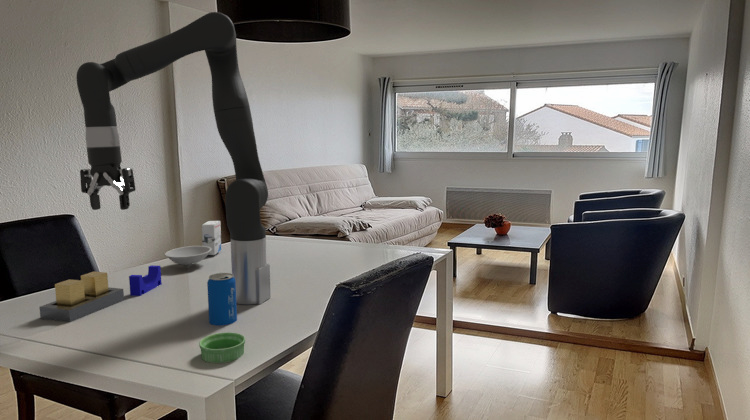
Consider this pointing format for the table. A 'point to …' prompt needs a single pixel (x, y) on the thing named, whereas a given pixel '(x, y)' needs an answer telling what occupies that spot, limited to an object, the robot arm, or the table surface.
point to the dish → (188, 254)
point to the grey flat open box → (81, 306)
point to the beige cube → (95, 284)
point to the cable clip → (145, 281)
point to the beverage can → (222, 299)
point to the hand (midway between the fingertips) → (110, 209)
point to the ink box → (212, 236)
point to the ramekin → (222, 340)
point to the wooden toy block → (70, 293)
